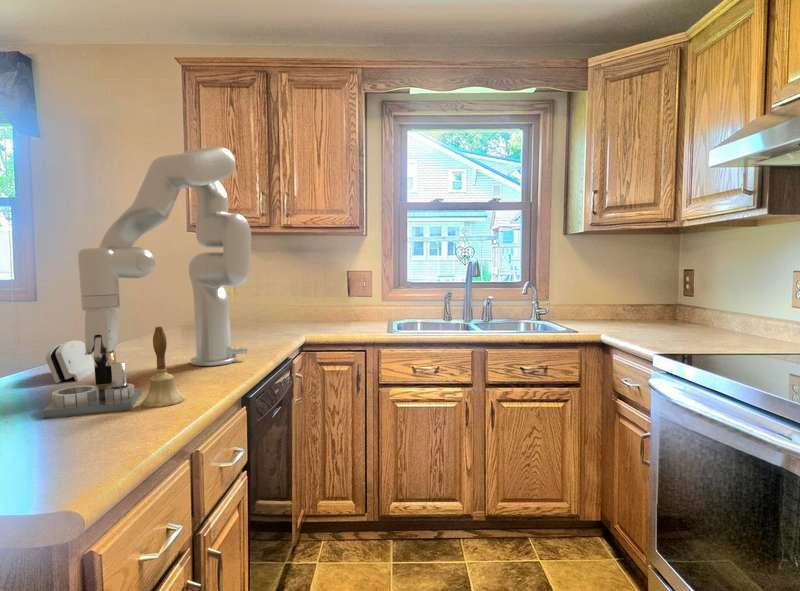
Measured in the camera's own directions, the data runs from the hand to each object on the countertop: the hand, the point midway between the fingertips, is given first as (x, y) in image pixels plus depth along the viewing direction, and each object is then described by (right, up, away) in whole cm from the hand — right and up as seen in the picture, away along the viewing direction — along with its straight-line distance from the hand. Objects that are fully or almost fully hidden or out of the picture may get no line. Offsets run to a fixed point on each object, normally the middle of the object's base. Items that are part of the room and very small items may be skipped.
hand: (106, 380), depth 116 cm
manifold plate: (+5, -3, -12) cm, 14 cm away
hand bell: (+18, -3, -10) cm, 20 cm away
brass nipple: (0, -2, 0) cm, 2 cm away
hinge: (-17, -1, +15) cm, 23 cm away
